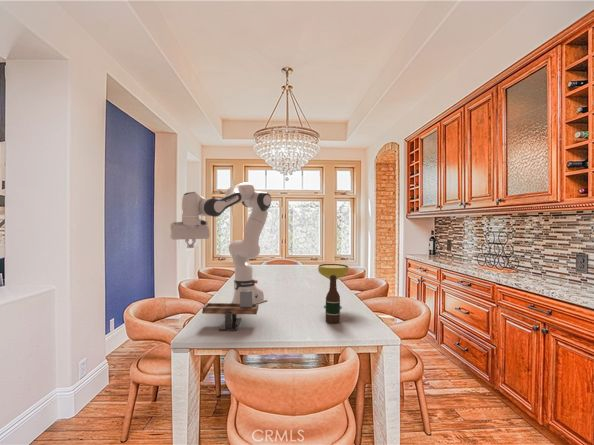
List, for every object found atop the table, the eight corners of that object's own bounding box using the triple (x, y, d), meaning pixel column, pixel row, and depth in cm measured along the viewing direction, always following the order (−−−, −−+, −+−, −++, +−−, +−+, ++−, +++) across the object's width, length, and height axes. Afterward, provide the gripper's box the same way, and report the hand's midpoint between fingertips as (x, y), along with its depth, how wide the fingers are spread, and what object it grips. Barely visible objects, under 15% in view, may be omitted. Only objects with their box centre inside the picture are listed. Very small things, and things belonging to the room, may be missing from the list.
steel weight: (239, 310, 163) (240, 291, 163) (241, 307, 168) (241, 289, 168) (252, 310, 163) (252, 291, 163) (253, 307, 168) (253, 289, 168)
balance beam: (202, 314, 160) (202, 308, 160) (207, 309, 171) (207, 302, 171) (256, 315, 161) (256, 309, 161) (258, 309, 171) (258, 303, 171)
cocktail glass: (349, 311, 192) (350, 268, 192) (318, 311, 193) (318, 267, 192) (345, 303, 210) (346, 264, 210) (317, 303, 211) (317, 263, 210)
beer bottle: (327, 324, 169) (328, 277, 169) (323, 319, 176) (323, 274, 176) (342, 323, 170) (342, 276, 170) (337, 318, 178) (338, 274, 178)
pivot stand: (219, 330, 157) (219, 314, 157) (226, 319, 174) (226, 304, 174) (236, 330, 158) (236, 314, 157) (241, 320, 174) (241, 304, 174)
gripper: (172, 222, 171) (172, 249, 171) (210, 222, 183) (210, 247, 183) (168, 221, 176) (168, 248, 176) (206, 221, 188) (206, 246, 188)
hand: (190, 247), depth 180 cm, fingers closed
